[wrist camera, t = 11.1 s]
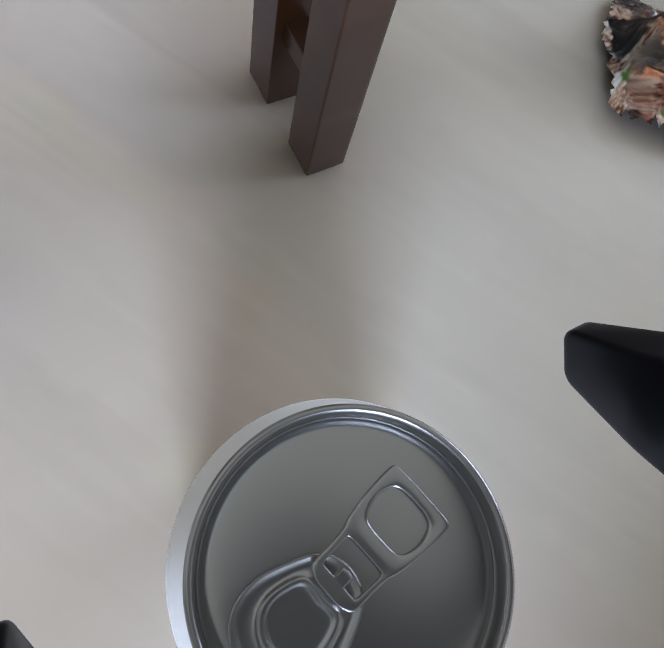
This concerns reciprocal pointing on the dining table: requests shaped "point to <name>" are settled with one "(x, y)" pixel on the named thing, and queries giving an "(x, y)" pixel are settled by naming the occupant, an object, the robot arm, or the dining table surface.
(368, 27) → the desk
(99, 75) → the dining table surface
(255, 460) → the can
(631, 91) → the plant with pod
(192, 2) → the dining table surface
